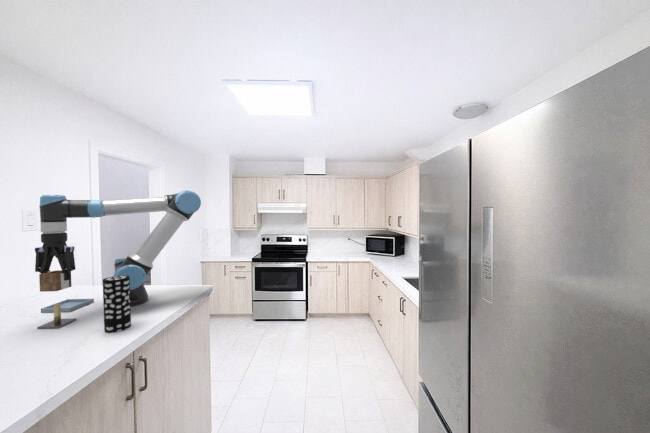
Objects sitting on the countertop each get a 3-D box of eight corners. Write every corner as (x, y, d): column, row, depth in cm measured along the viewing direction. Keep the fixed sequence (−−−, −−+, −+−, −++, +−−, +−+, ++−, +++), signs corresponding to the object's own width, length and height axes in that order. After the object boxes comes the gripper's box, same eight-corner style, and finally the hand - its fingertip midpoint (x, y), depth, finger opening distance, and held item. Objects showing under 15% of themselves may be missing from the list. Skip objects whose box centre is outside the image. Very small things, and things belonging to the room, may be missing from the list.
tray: (93, 302, 134) (93, 298, 134) (69, 312, 121) (69, 308, 121) (67, 303, 134) (67, 299, 134) (40, 313, 121) (40, 308, 121)
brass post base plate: (76, 320, 112) (75, 301, 112) (58, 328, 104) (57, 307, 104) (57, 320, 112) (56, 301, 112) (37, 329, 104) (36, 308, 104)
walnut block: (71, 286, 111) (70, 270, 111) (56, 291, 104) (55, 273, 104) (55, 286, 111) (55, 270, 110) (39, 291, 104) (39, 274, 104)
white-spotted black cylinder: (129, 321, 110) (127, 274, 109) (132, 327, 104) (131, 277, 103) (103, 328, 104) (101, 278, 103) (105, 335, 98) (103, 282, 98)
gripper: (86, 231, 111) (88, 285, 112) (39, 232, 111) (41, 286, 111) (70, 232, 104) (71, 290, 104) (19, 233, 103) (21, 291, 104)
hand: (56, 288), depth 108 cm, fingers closed on walnut block, 6 cm apart
